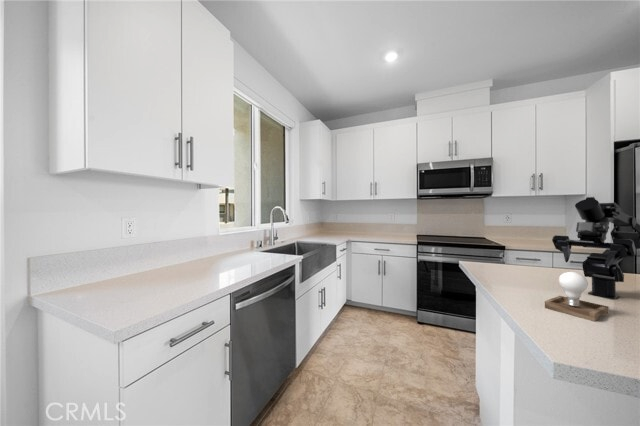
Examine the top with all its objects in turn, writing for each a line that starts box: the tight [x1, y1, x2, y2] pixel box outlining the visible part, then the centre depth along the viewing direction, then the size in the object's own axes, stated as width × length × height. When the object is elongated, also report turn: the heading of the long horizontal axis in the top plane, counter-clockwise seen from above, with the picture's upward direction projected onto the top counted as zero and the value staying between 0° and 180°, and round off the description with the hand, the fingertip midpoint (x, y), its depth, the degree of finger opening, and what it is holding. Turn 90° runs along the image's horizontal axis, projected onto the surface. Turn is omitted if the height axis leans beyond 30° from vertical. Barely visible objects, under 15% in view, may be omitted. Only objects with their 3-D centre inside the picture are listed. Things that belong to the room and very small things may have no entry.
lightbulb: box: [558, 271, 589, 307], centre depth 76 cm, size 6×6×11 cm
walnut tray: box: [544, 295, 610, 322], centre depth 75 cm, size 11×11×2 cm
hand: (584, 263), depth 81 cm, fingers open, 9 cm apart
